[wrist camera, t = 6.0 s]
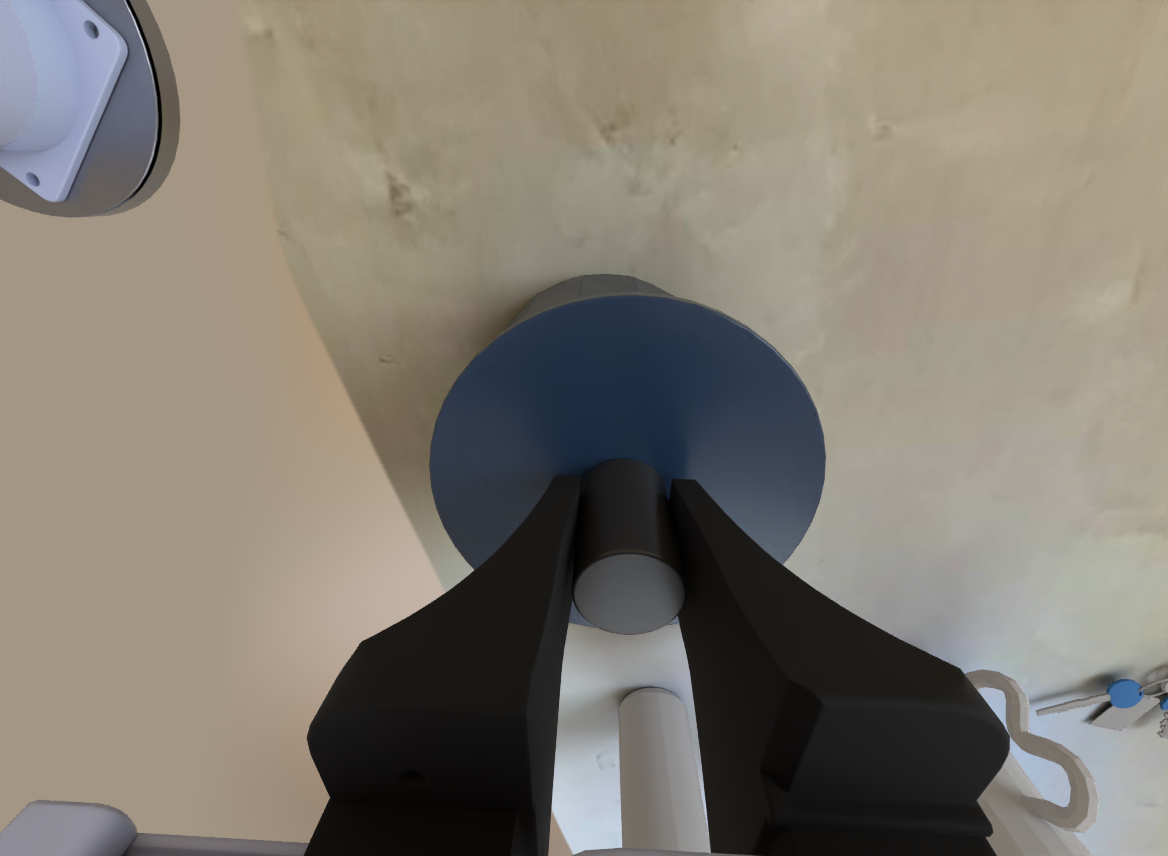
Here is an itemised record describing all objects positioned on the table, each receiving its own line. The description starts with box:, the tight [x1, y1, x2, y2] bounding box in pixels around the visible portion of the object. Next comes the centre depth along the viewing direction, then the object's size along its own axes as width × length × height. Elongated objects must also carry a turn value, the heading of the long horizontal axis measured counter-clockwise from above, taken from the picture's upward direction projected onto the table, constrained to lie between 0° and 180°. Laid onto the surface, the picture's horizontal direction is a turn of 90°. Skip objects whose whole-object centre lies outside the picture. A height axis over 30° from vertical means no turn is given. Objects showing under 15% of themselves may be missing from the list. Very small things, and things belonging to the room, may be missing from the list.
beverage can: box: [618, 688, 711, 853], centre depth 27 cm, size 5×5×12 cm
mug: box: [965, 669, 1100, 856], centre depth 26 cm, size 12×9×10 cm
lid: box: [429, 292, 826, 635], centre depth 11 cm, size 11×11×5 cm
